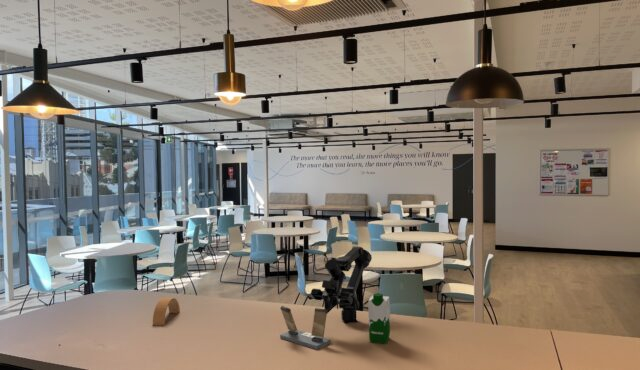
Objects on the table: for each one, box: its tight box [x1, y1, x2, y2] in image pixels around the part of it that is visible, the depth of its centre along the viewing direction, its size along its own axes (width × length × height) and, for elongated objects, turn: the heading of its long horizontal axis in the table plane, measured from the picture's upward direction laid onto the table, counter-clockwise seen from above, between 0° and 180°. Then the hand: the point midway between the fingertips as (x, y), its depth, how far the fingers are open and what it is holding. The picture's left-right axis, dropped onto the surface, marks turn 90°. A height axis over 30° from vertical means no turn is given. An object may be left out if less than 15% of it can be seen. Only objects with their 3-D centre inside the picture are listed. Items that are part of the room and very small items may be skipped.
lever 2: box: [311, 307, 328, 338], centre depth 188 cm, size 2×5×11 cm, turn 62°
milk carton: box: [367, 293, 391, 345], centre depth 190 cm, size 9×9×20 cm
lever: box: [280, 305, 298, 332], centre depth 194 cm, size 2×5×11 cm, turn 38°
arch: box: [152, 297, 181, 326], centre depth 224 cm, size 6×20×10 cm, turn 175°
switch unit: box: [279, 329, 332, 351], centre depth 191 cm, size 9×21×2 cm, turn 50°
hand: (325, 313), depth 193 cm, fingers closed
